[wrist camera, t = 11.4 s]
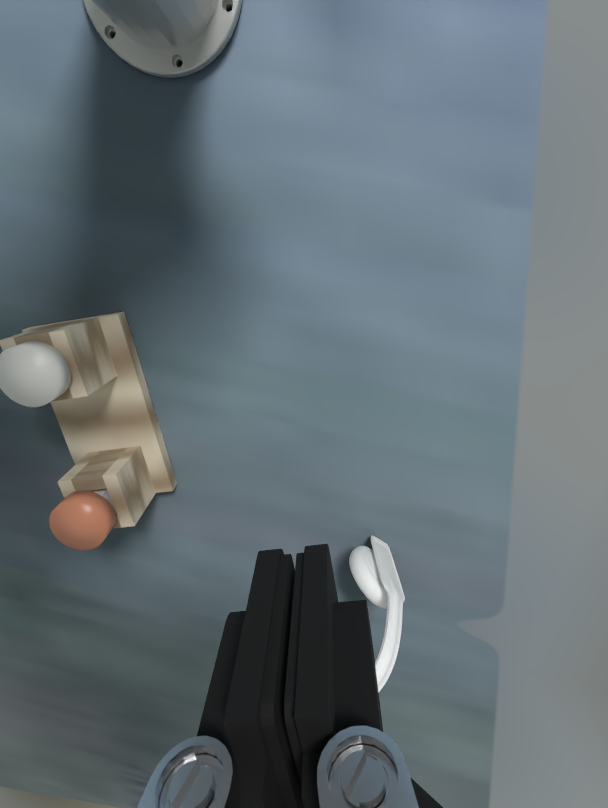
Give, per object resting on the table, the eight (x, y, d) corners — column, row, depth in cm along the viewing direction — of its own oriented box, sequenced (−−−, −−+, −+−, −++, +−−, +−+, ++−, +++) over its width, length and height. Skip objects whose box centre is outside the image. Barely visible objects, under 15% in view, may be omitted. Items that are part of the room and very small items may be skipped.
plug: (42, 331, 43) (-17, 351, 35) (93, 322, 42) (43, 342, 35) (61, 381, 45) (9, 410, 37) (110, 373, 44) (66, 402, 37)
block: (31, 326, 45) (-24, 344, 38) (124, 311, 44) (86, 326, 37) (95, 493, 52) (60, 534, 45) (177, 483, 51) (153, 523, 44)
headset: (366, 515, 51) (386, 650, 35) (406, 551, 53) (443, 696, 36) (252, 605, 57) (222, 757, 41) (291, 635, 59) (278, 793, 42)
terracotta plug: (85, 462, 47) (40, 506, 39) (132, 456, 46) (95, 499, 39) (101, 503, 49) (61, 552, 41) (146, 498, 48) (113, 547, 41)
